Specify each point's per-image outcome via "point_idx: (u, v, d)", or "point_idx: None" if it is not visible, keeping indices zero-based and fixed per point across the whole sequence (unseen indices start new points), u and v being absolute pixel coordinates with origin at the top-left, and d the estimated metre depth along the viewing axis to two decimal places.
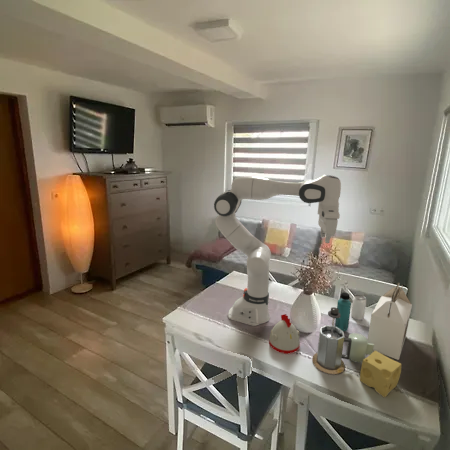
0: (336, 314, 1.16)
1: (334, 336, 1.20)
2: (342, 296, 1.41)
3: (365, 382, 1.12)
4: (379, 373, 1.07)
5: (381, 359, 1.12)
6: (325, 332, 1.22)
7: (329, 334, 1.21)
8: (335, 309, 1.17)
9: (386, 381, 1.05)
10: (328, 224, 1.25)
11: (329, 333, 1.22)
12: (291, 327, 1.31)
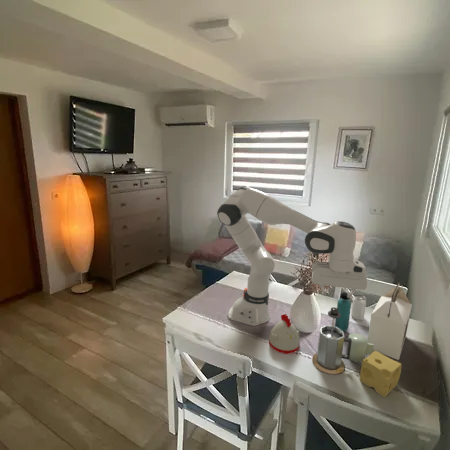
0: (336, 314, 1.16)
1: (334, 336, 1.20)
2: (342, 296, 1.41)
3: (365, 382, 1.12)
4: (379, 373, 1.07)
5: (381, 359, 1.12)
6: (325, 332, 1.22)
7: (329, 334, 1.21)
8: (335, 309, 1.17)
9: (386, 381, 1.05)
10: (366, 277, 1.10)
11: (329, 333, 1.22)
12: (291, 327, 1.31)
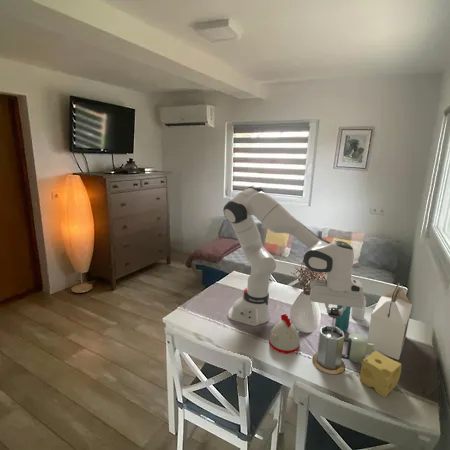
0: (336, 314, 1.16)
1: (334, 336, 1.20)
2: None
3: (365, 382, 1.12)
4: (379, 373, 1.07)
5: (381, 359, 1.12)
6: (325, 332, 1.22)
7: (329, 334, 1.21)
8: (335, 309, 1.17)
9: (386, 381, 1.05)
10: (363, 296, 1.12)
11: (329, 333, 1.22)
12: (291, 327, 1.31)
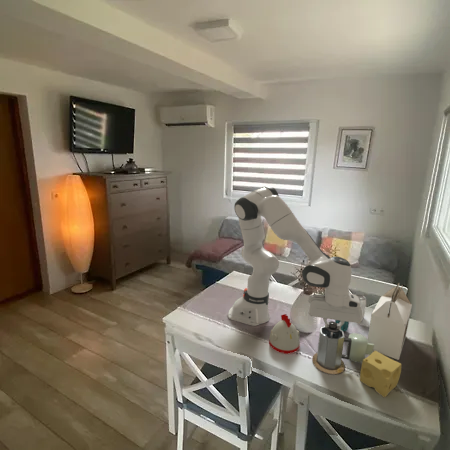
0: (334, 328, 1.18)
1: None
2: None
3: (365, 382, 1.12)
4: (379, 373, 1.07)
5: (381, 359, 1.12)
6: None
7: None
8: (333, 323, 1.19)
9: (386, 381, 1.05)
10: (361, 311, 1.13)
11: None
12: (291, 327, 1.31)
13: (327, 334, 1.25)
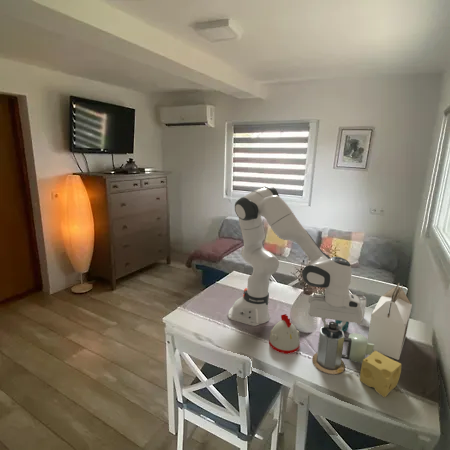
0: (334, 328, 1.18)
1: None
2: None
3: (365, 382, 1.12)
4: (379, 373, 1.07)
5: (381, 359, 1.12)
6: None
7: None
8: (333, 323, 1.19)
9: (386, 381, 1.05)
10: (361, 311, 1.13)
11: None
12: (291, 327, 1.31)
13: (327, 334, 1.25)
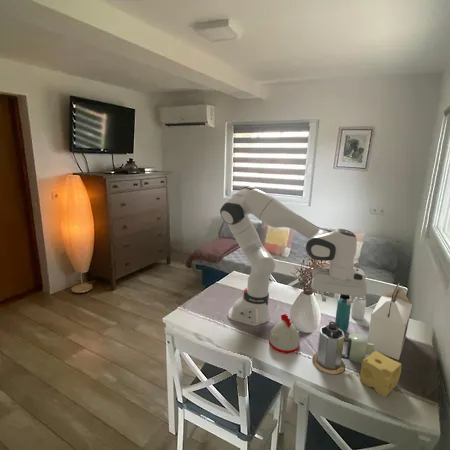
0: (334, 328, 1.18)
1: None
2: (342, 296, 1.41)
3: (365, 382, 1.12)
4: (379, 373, 1.07)
5: (381, 359, 1.12)
6: None
7: None
8: (333, 323, 1.19)
9: (386, 381, 1.05)
10: (366, 285, 1.11)
11: None
12: (291, 327, 1.31)
13: (327, 334, 1.25)
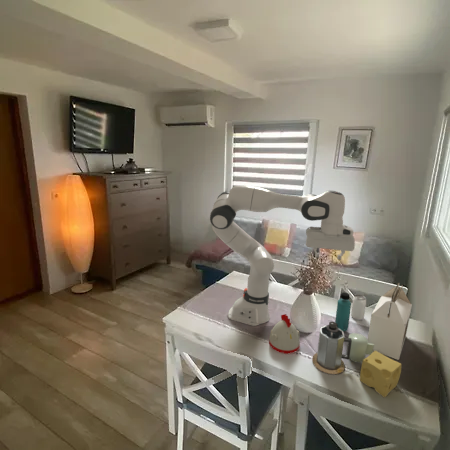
0: (334, 328, 1.18)
1: None
2: (342, 296, 1.41)
3: (365, 382, 1.12)
4: (379, 373, 1.07)
5: (381, 359, 1.12)
6: None
7: None
8: (333, 323, 1.19)
9: (386, 381, 1.05)
10: (354, 240, 1.24)
11: None
12: (291, 327, 1.31)
13: (327, 334, 1.25)
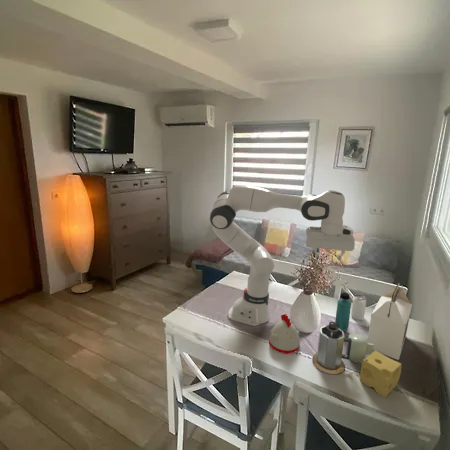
0: (334, 328, 1.18)
1: None
2: (342, 296, 1.41)
3: (365, 382, 1.12)
4: (379, 373, 1.07)
5: (381, 359, 1.12)
6: None
7: None
8: (333, 323, 1.19)
9: (386, 381, 1.05)
10: None
11: None
12: (291, 327, 1.31)
13: (327, 334, 1.25)
